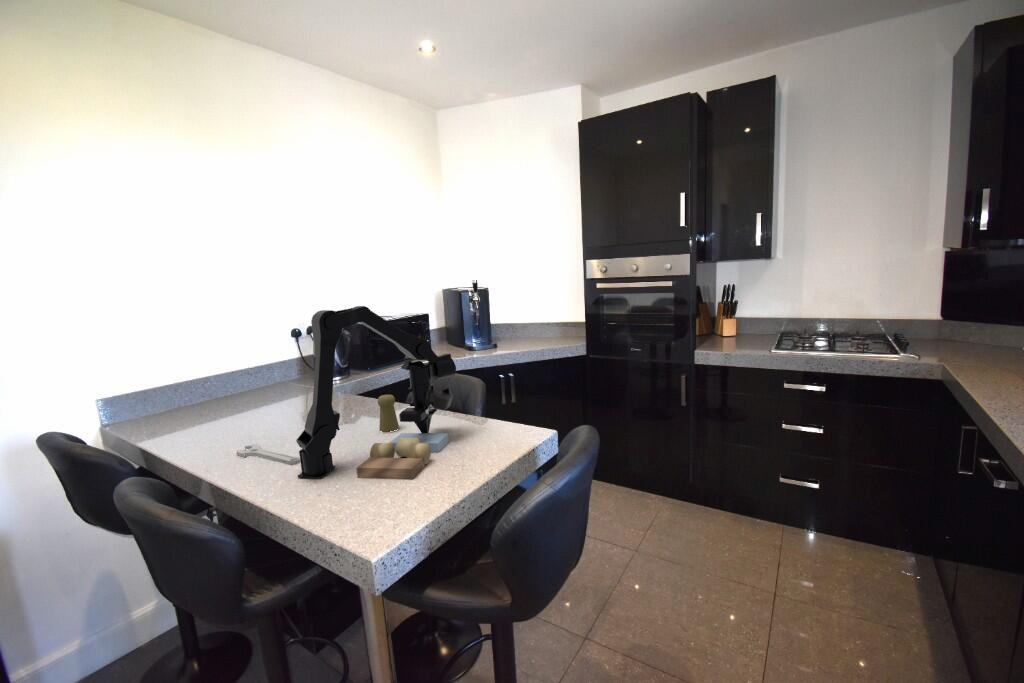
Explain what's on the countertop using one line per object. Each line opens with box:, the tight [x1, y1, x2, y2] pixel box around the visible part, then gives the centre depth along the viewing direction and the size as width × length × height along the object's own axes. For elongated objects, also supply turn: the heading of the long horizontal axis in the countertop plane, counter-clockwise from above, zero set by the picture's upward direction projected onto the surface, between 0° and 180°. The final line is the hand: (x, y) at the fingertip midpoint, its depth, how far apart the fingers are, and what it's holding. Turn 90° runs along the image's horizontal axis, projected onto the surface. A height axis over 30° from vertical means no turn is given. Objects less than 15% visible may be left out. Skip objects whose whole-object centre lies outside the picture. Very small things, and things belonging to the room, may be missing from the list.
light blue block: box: [388, 432, 450, 458], centre depth 122 cm, size 14×13×5 cm
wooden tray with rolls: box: [356, 442, 432, 480], centre depth 111 cm, size 14×11×5 cm
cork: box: [377, 394, 400, 432], centre depth 141 cm, size 6×6×11 cm
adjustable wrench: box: [236, 443, 301, 466], centre depth 125 cm, size 25×6×2 cm, turn 55°
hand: (425, 436), depth 130 cm, fingers closed
